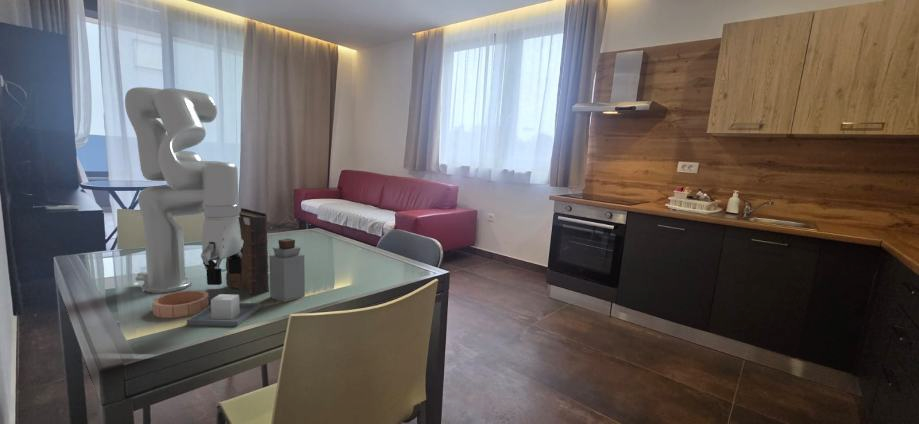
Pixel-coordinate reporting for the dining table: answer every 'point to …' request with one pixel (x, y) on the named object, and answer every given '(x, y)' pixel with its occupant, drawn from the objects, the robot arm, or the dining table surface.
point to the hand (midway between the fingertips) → (225, 278)
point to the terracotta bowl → (180, 303)
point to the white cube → (225, 306)
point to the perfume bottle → (287, 272)
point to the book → (252, 254)
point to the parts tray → (206, 319)
